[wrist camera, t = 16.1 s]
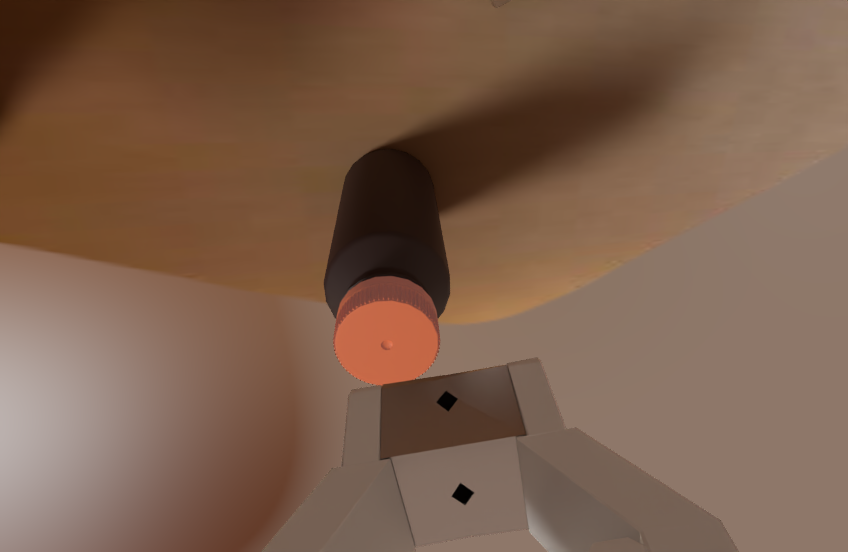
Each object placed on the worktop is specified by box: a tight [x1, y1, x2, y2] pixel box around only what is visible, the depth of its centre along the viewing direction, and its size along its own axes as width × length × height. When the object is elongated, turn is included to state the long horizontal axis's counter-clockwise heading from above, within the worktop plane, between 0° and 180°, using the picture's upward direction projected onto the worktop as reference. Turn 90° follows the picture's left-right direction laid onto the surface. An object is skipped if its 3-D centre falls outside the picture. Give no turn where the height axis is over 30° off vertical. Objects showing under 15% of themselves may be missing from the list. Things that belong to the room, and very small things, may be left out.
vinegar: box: [324, 149, 450, 386], centre depth 36 cm, size 7×7×20 cm
